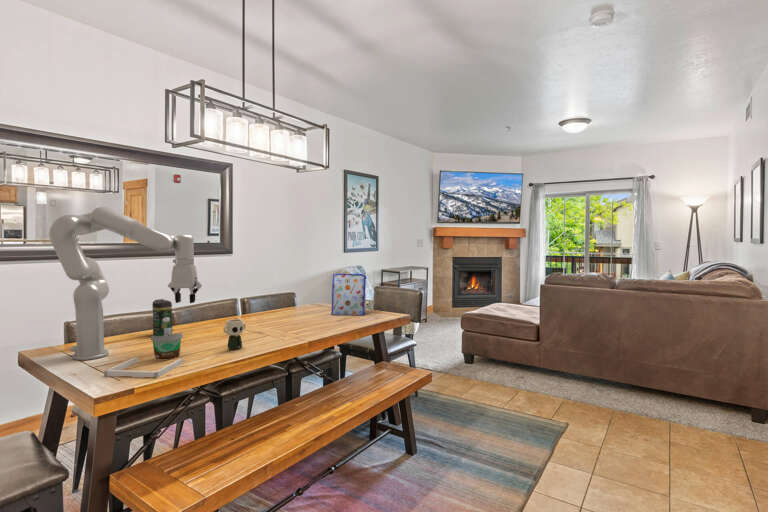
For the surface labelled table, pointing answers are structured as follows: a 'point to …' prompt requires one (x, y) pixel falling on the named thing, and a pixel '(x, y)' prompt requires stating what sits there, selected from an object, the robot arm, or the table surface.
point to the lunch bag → (348, 294)
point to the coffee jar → (162, 317)
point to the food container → (167, 346)
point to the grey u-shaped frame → (118, 372)
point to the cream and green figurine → (234, 332)
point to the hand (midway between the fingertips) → (185, 302)
